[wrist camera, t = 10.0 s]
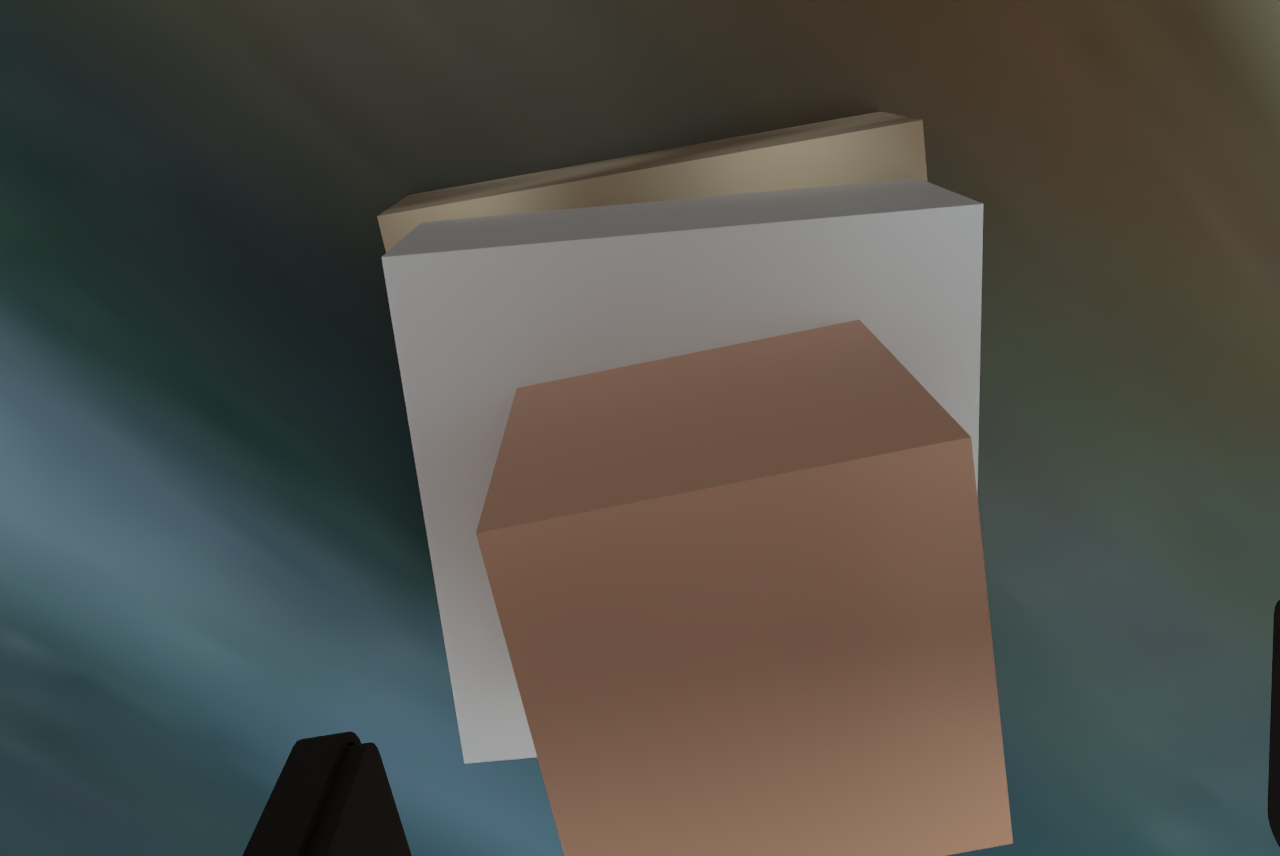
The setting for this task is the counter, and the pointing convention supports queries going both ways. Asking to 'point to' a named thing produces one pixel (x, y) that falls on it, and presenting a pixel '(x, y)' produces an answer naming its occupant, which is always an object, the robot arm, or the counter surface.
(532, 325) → the grey top slab
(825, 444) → the terracotta cube
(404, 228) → the maple base slab
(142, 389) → the counter surface
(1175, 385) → the counter surface
